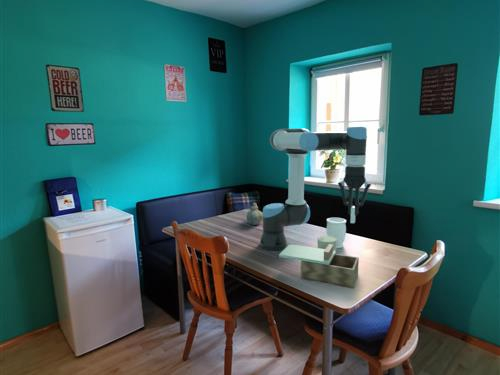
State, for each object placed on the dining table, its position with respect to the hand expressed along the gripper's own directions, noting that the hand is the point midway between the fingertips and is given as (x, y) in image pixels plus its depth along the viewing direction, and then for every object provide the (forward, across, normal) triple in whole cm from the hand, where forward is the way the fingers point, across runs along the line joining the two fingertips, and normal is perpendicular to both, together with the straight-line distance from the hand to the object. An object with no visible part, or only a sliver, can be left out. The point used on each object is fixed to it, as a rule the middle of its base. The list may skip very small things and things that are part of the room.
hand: (352, 222), depth 130 cm
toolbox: (+26, -9, 0) cm, 27 cm away
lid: (+17, -19, 0) cm, 26 cm away
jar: (+26, -14, +39) cm, 49 cm away
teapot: (+27, -74, +61) cm, 99 cm away
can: (+26, -14, +16) cm, 33 cm away
